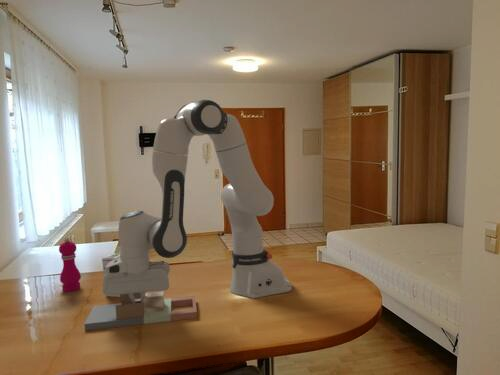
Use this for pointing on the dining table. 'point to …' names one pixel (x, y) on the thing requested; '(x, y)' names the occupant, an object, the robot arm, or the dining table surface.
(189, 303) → the board
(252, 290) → the robot arm
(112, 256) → the syrup box
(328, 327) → the dining table surface
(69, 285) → the pepper mill
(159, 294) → the birch block
